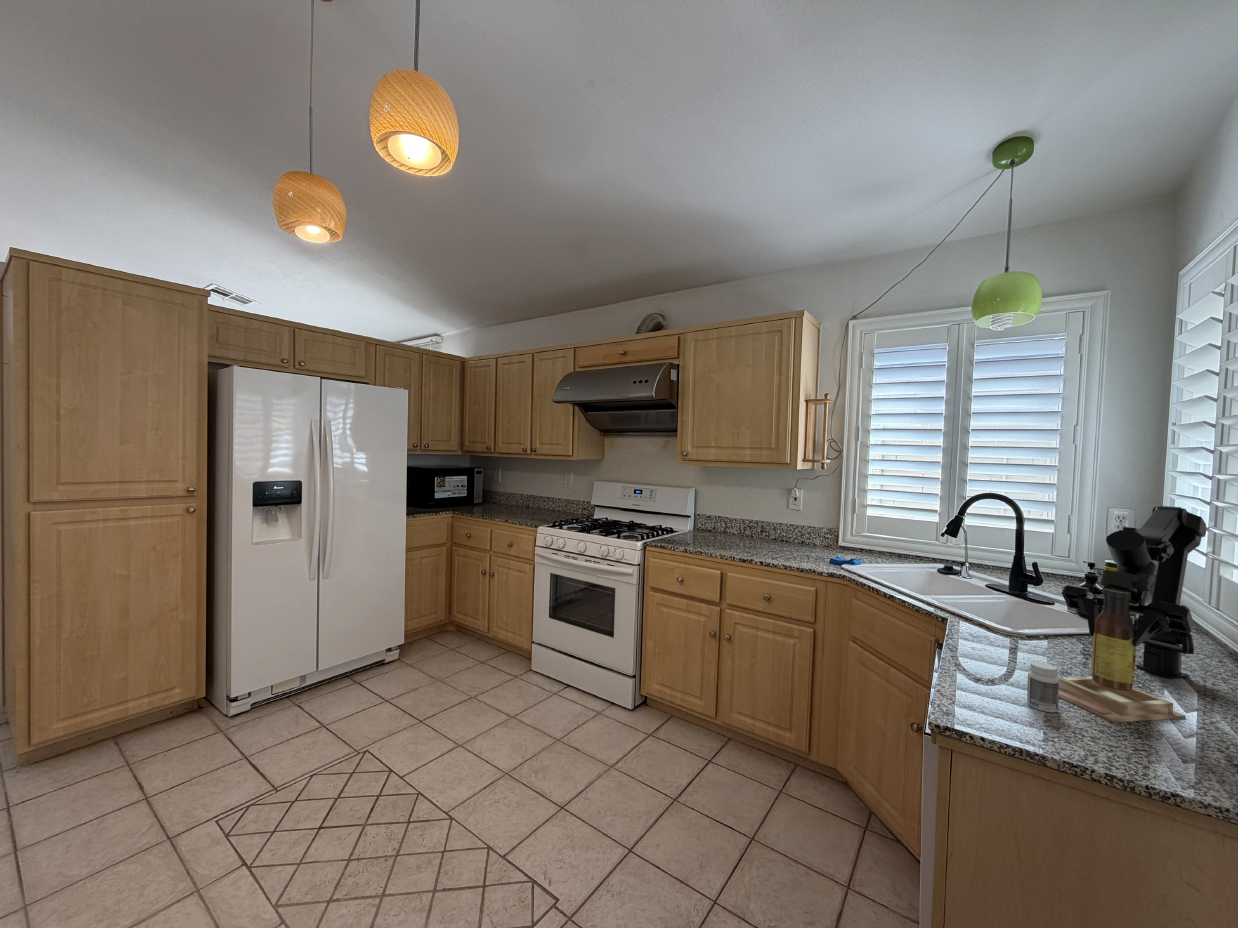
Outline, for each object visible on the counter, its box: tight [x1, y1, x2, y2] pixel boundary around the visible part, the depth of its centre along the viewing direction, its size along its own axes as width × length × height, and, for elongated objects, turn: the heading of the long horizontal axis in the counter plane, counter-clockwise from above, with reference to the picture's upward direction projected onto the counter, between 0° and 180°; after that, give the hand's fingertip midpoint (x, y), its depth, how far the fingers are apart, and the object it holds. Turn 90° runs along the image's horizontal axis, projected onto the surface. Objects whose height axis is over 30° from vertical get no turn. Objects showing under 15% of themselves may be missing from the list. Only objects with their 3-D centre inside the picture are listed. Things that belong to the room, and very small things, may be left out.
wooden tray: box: [1057, 675, 1186, 723], centre depth 100 cm, size 17×14×2 cm
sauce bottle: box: [1090, 587, 1137, 691], centre depth 100 cm, size 6×6×20 cm
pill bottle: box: [1026, 661, 1060, 713], centre depth 97 cm, size 5×5×8 cm
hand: (1112, 639), depth 99 cm, fingers closed on sauce bottle, 6 cm apart
